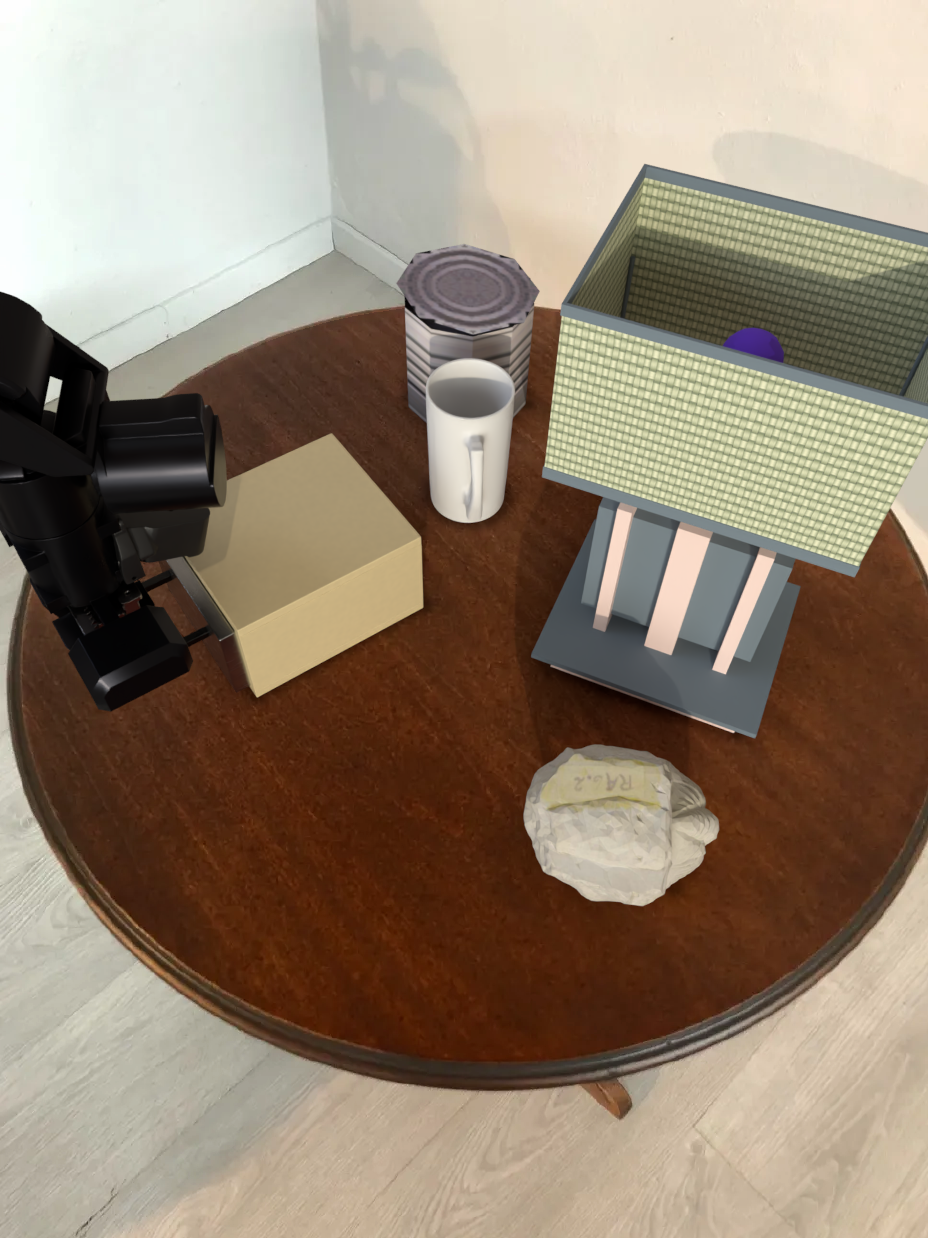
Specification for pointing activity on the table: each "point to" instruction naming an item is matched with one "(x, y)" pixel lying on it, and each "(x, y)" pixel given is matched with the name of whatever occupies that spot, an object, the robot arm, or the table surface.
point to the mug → (469, 437)
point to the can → (466, 316)
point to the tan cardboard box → (307, 561)
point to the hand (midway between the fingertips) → (119, 651)
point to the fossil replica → (617, 823)
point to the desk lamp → (727, 430)
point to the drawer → (203, 618)
